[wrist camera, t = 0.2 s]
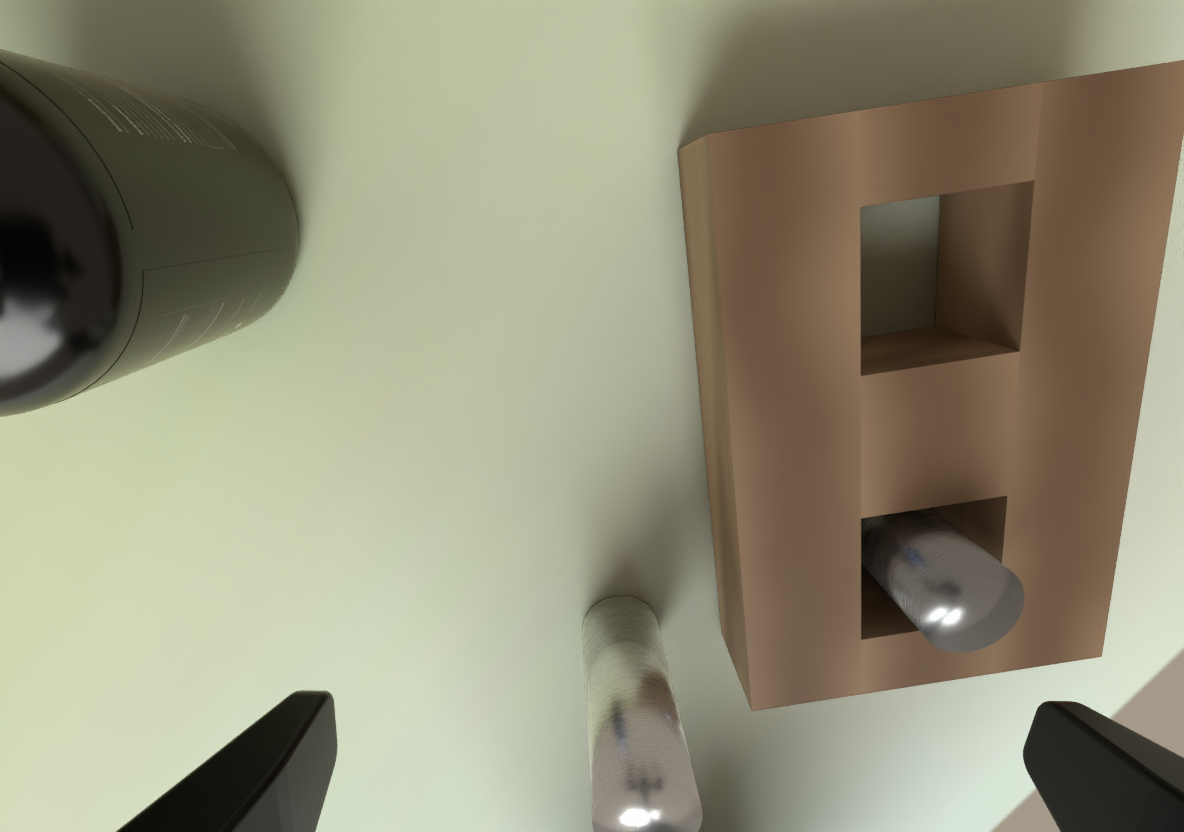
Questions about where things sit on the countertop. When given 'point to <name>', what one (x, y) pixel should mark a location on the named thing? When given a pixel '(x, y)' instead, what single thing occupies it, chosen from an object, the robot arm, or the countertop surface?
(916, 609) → the short grey peg
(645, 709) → the steel pin
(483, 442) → the countertop surface
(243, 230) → the supplement bottle
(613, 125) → the countertop surface
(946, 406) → the hole block
